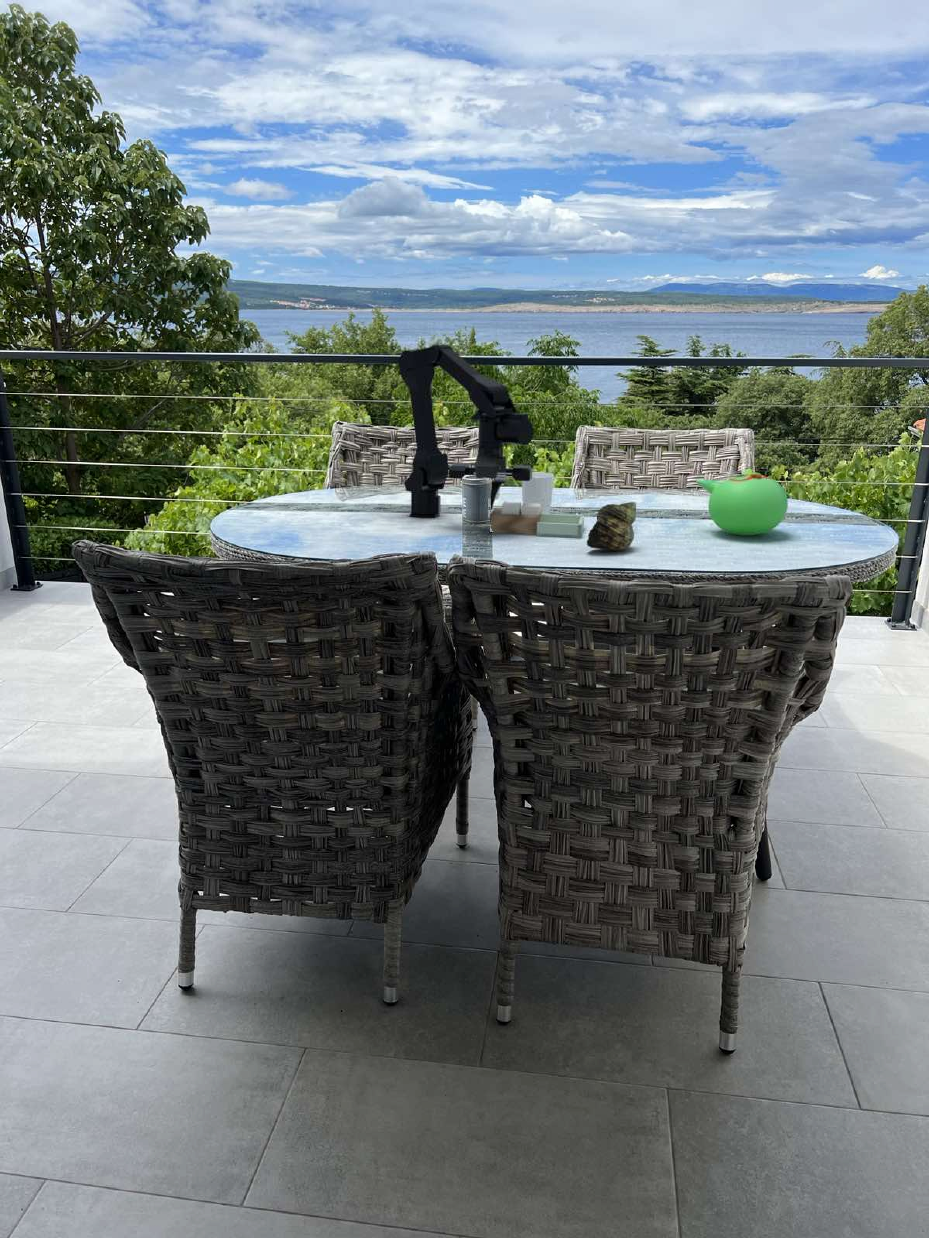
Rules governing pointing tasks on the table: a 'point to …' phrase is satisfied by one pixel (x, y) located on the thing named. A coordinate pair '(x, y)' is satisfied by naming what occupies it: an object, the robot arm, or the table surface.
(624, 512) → the seashell
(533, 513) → the tile
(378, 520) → the table surface
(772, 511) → the green teapot
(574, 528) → the tray
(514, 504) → the tile
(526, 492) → the white cup
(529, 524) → the tan cardboard slab
